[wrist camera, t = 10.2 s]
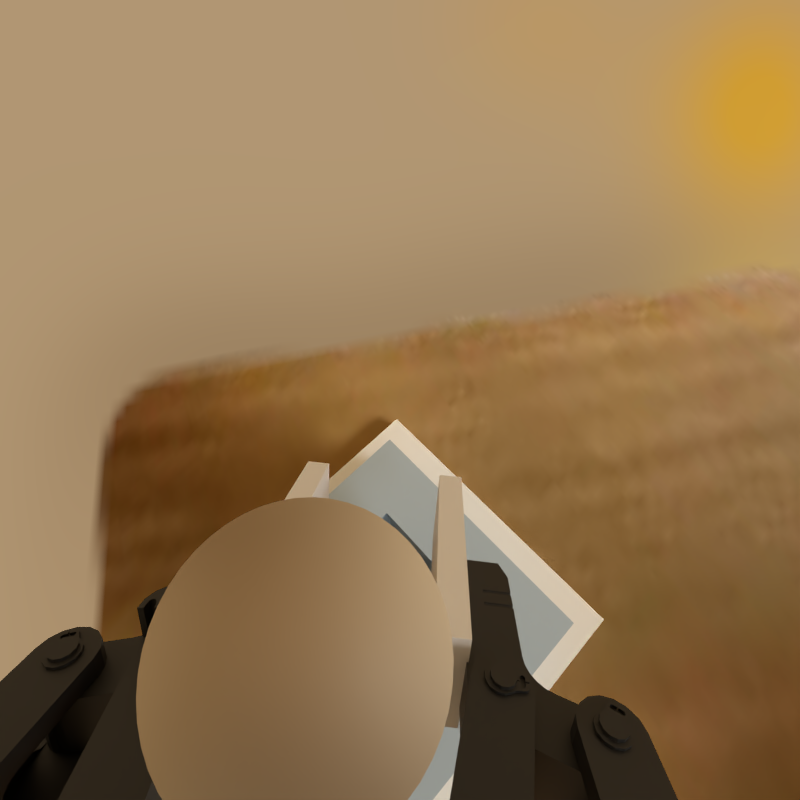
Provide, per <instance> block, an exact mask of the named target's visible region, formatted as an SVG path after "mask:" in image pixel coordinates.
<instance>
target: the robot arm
mask: <svg viewBox="0 0 800 800" xmlns="http://www.w3.org/2000/svg"><path fill="white" fill-rule="evenodd" d="M306 497H317V498H329V463H320V462H311V461H308V463H307V464H306V466H305V468H304V469H303V471H302V472H301V474H300V476H299V477H298V479H297V480H296V482H295V484H294V485H293V487H292V488H291V490H290V492H289V493H288V495H287V496H286V498H285V500H287V499H292V498H306ZM431 573H432V575H433V577H434V579H435V581H436V584H437V586H438V588H439V590H440V592H441V595H442V598H443V602H444V605H445V608H446V611H447V614H448V619H449V624H450V629H451V635H452V645H453V657H454V666H453V687H452V694H451V700H450V707H449V712H448V716H447V719H446V723H445V727H451V728H458V725H459V718H460V740H459V746H458V752H457V758H456V764H455V770H454V776H453V782H452V789H451V795H450V800H678V799H677V797H676V794H675V792H674V790H673V788H672V785H671V783H670V781H669V779H668V777H667V774H666V772H665V770H664V768H663V765H662V763H661V761H660V759H659V756H658V754H657V752H656V750H655V748H654V745H653V743H652V741H651V739H650V736H649V734H648V732H647V731H646V729H645V728H644V726H643V724H642V723H641V721H640V720H639V719H638V718H637V717H636V716H635V715H634V714H633V713H632V712H631V711H630V710H629V709H628V708H627V707H626V706H624V705H622V704H621V703H619V702H617V701H616V700H614V699H611V698H607V697H604V696H600V695H599V696H589V697H587V698H585V699H584V700H583V701H581V702H580V703H579V705H578V704H576V703H574V702H571V701H569V700H567V699H565V698H563V697H560V696H558V695H556V694H554V693H552V692H550V691H549V690H547V689H545V688H544V687H543V686H542V685H540V684H539V683H538V682H537V681H536V680H535V679H534V678H533V676H532V675H531V674H530V673H529V671H528V669H527V668H526V666H525V663H524V660H523V657H522V652H521V647H520V641H519V636H518V630H517V625H516V620H515V614H514V609H513V603H512V598H511V596H510V587H509V582H508V577H507V576H506V574H505V573H504V571H503V570H502V569H501V567H500V566H499V564H498V563H490V562H482V561H473V560H467V554H466V539H465V524H464V509H463V494H462V479H461V477H455V476H445V475H440V476H439V485H438V495H437V504H436V513H435V523H434V532H433V545H432V568H431ZM167 587H168V586H167ZM167 587H165V588H162V589H160V590H157V591H155V592H154V593H153V594H151V595H150V596H148V597H147V598H145V599H144V601H143V602H142V603H141V604H140V605H139V607H138V608H137V609H138V614H139V619H140V624H141V629H142V634H143V635H142V636H138V637H134V638H128V639H121V640H115V641H108V642H103V639H102V636H101V635H100V633H99V631H98V630H95V629H93V628H91V627H76V628H73V629H69V630H65V631H62V632H60V633H58V634H56V635H54V636H52V637H50V638H48V639H47V640H46V641H44V642H43V643H42V644H41V645H39V646H38V647H37V648H35V649H34V650H33V651H32V652H31V653H30V654H29V655H28V656H27V657H26V658H25V659H24V660H23V661H22V662H21V663H20V664H19V665H18V666H16V667H15V668H14V669H13V670H12V671H11V672H10V673H9V674H8V675H7V676H6V677H5V678H4V679H3V680H2V681H1V682H0V800H162V798H161V797H160V795H159V794H158V792H157V790H156V787H155V785H154V783H153V781H152V779H151V776H150V774H149V772H148V769H147V766H146V762H145V759H144V756H143V752H142V749H141V744H140V738H139V732H138V726H137V711H136V690H137V677H138V669H139V664H140V658H141V653H142V648H143V645H144V642H145V638H146V635H147V631H148V628H149V625H150V623H151V620H152V618H153V616H154V613H155V611H156V608H157V606H158V604H159V602H160V600H161V598H162V597H163V595H164V593H165V591H166V589H167Z"/></svg>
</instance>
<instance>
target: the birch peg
mask: <svg viewBox="0 0 800 800" xmlns="http://www.w3.org/2000/svg"><path fill="white" fill-rule="evenodd" d="M453 666H454V657H453V645H452V635H451V629H450V624H449V619H448V614H447V611H446V608H445V605H444V602H443V598H442V595H441V592H440V590H439V588H438V586H437V584H436V581H435V579H434V577H433V575H432V573H431V571H430V570H429V568H428V566H427V565H426V563H425V562H424V560H423V558H422V557H421V555H420V554H419V553H418V552H417V550H416V549H415V548H414V547H413V546H412V544H411V543H410V542H409V541H408V540H407V539H406V538H405V537H404V536H403V535H402V534H401V533H400V532H399V531H398V530H397V529H396V528H394V527H393V526H392V525H390V524H389V523H388V522H386V521H385V520H383V519H382V518H381V517H379V516H377V515H375V514H373V513H372V512H370V511H368V510H366V509H364V508H361V507H359V506H356V505H353V504H350V503H348V502H343V501H339V500H334V499H329V498H317V497H306V498H292V499H287V500H281V501H276V502H273V503H270V504H267V505H263V506H260V507H258V508H256V509H253V510H251V511H249V512H247V513H245V514H242V515H241V516H239V517H237V518H236V519H234V520H232V521H231V522H229V523H227V524H226V525H224V526H223V527H222V528H220V529H219V530H218V531H216V532H215V533H214V534H213V535H211V536H210V537H209V538H208V539H207V540H206V541H205V542H204V543H203V544H201V545H200V546H199V547H198V548H197V549H196V550H195V551H194V552H193V554H192V555H191V556H190V557H189V558H188V559H187V561H186V562H185V563H184V564H183V565H182V567H181V568H180V569H179V571H178V572H177V574H176V575H175V577H174V578H173V580H172V581H171V583H170V584H169V585H168V587H167V589H166V591H165V593H164V595H163V597H162V598H161V600H160V602H159V604H158V606H157V608H156V611H155V613H154V616H153V618H152V620H151V623H150V625H149V628H148V631H147V635H146V638H145V642H144V645H143V648H142V653H141V658H140V664H139V669H138V677H137V690H136V711H137V726H138V732H139V738H140V744H141V749H142V752H143V756H144V759H145V762H146V766H147V769H148V772H149V774H150V776H151V779H152V781H153V783H154V785H155V787H156V790H157V792H158V794H159V795H160V797H161V798H162V800H408V799H409V797H410V796H411V795H412V793H413V792H414V790H415V789H416V788H417V786H418V785H419V783H420V782H421V780H422V778H423V776H424V774H425V773H426V771H427V769H428V767H429V765H430V763H431V761H432V760H433V757H434V755H435V752H436V750H437V747H438V745H439V742H440V740H441V737H442V734H443V731H444V727H445V723H446V719H447V716H448V712H449V707H450V700H451V694H452V687H453Z"/></svg>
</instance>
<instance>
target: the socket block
mask: <svg viewBox="0 0 800 800" xmlns="http://www.w3.org/2000/svg"><path fill="white" fill-rule="evenodd" d="M440 475H445V476H455V475H454V474H453V473H452V472H451V471H450V470H449V469H448V468H447V467H446V466H445V465H444V464H443V463H442V462H441V461H440V460H439V459H437V458H436V457H435V456H434V455H433V454H432V453H431V452H430V451H429V450H428V449H427V448H426V447H425V446H424V445H423V444H422V443H421V442H420V441H419V440H418V439H417V438H416V437H415V436H414V435H413V434H412V433H411V432H410V431H409V430H407V429H406V428H405V427H404V426H403V425H402V424H401V423H400V422H399V421H398V420H397V419H396V420H395V421H394V422H393V423H392V424H391V425H389V426H388V427H387V428H386V429H385V430H384V431H383V432H382V433H380V434H379V435H378V436H377V437H376V438H375V439H374V440H373V441H371V442H370V443H369V444H368V445H367V446H366V447H365V448H364V449H362V450H361V451H360V452H359V453H358V454H357V455H356V456H355V457H353V458H352V459H351V460H350V461H349V462H348V463H347V464H346V465H344V466H343V467H342V468H341V469H340V470H339V471H338V472H337V473H335V474H334V475H333V476H332V477H331V478H330V479H329V499H334V500H339V501H343V502H348V503H350V504H353V505H356V506H359V507H361V508H364V509H366V510H368V511H370V512H372V513H373V514H375V515H377V516H379V517H381V518H382V519H383V520H385V521H386V522H388V523H389V524H390V525H392V526H393V527H394V528H396V529H397V530H398V531H399V532H400V533H401V534H402V535H403V536H404V537H405V538H406V539H407V540H408V541H409V542H410V543H411V544H412V546H413V547H414V548H415V549H416V550H417V552H418V553H419V554H420V555H421V557H422V558H423V560H424V562H425V563H426V565H427V566H428V568H429V570H430V571H431V568H432V545H433V532H434V523H435V513H436V504H437V495H438V485H439V476H440ZM455 477H456V476H455ZM462 494H463V509H464V524H465V539H466V554H467V560H473V561H482V562H490V563H498V564H499V566H500V567H501V569H502V570H503V571H504V573H505V574H506V576H507V577H508V582H509V587H510V596H511V598H512V603H513V609H514V614H515V620H516V625H517V630H518V636H519V641H520V647H521V652H522V657H523V660H524V663H525V666H526V668H527V669H528V671H529V673H530V674H531V675H532V676H533V678H534V679H535V680H536V681H537V682H538V683H539V684H540V685H542V686H543V687H544V688H545V689H547V690H550V688H551V687H552V686H553V685H554V683H555V682H556V681H557V679H558V678H559V677H560V676H561V674H562V673H563V672H564V670H565V669H566V668H567V667H568V665H569V664H570V663H571V661H572V660H573V659H574V658H575V656H576V655H577V654H578V652H579V651H580V650H581V649H582V647H583V646H584V645H585V643H586V642H587V641H588V640H589V638H590V637H591V636H592V634H593V633H594V632H595V630H596V629H597V628H598V627H599V625H600V624H601V623H602V621H603V620H604V619H603V618H602V617H601V616H600V615H599V614H598V613H597V612H596V611H595V610H594V609H593V608H592V607H590V606H589V605H588V604H587V603H586V602H585V601H584V600H583V599H582V598H581V597H580V596H579V595H578V594H577V593H576V592H575V591H574V590H573V589H572V588H571V587H570V586H569V585H568V584H567V583H566V582H565V581H564V580H563V579H562V578H561V577H559V576H558V575H557V574H556V573H555V572H554V571H553V570H552V569H551V568H550V567H549V566H548V565H547V564H546V563H545V562H544V561H543V560H542V559H541V558H540V557H539V556H538V555H537V554H536V553H535V552H534V551H533V550H532V549H531V548H529V547H528V546H527V545H526V544H525V543H524V542H523V541H522V540H521V539H520V538H519V537H518V536H517V535H516V534H515V533H514V532H513V531H512V530H511V529H510V528H509V527H508V526H507V525H506V524H505V523H504V522H503V521H502V520H501V519H500V518H498V517H497V516H496V515H495V514H494V513H493V512H492V511H491V510H490V509H489V508H488V507H487V506H486V505H485V504H484V503H483V502H482V501H481V500H480V499H479V498H478V497H477V496H476V495H475V494H474V493H473V492H472V491H471V490H470V489H468V488H467V487H466V486H465V485H464V484H463V483H462ZM459 740H460V718H459V725H458V728H451V727H444V731H443V734H442V737H441V740H440V742H439V745H438V747H437V750H436V752H435V755H434V757H433V760H432V761H431V763H430V765H429V767H428V769H427V771H426V773H425V774H424V776H423V778H422V780H421V782H420V783H419V785H418V786H417V788H416V789H415V790H414V792H413V793H412V795H411V796H410V797H409V799H408V800H450V795H451V789H452V782H453V776H454V770H455V764H456V758H457V752H458V746H459Z"/></svg>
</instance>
